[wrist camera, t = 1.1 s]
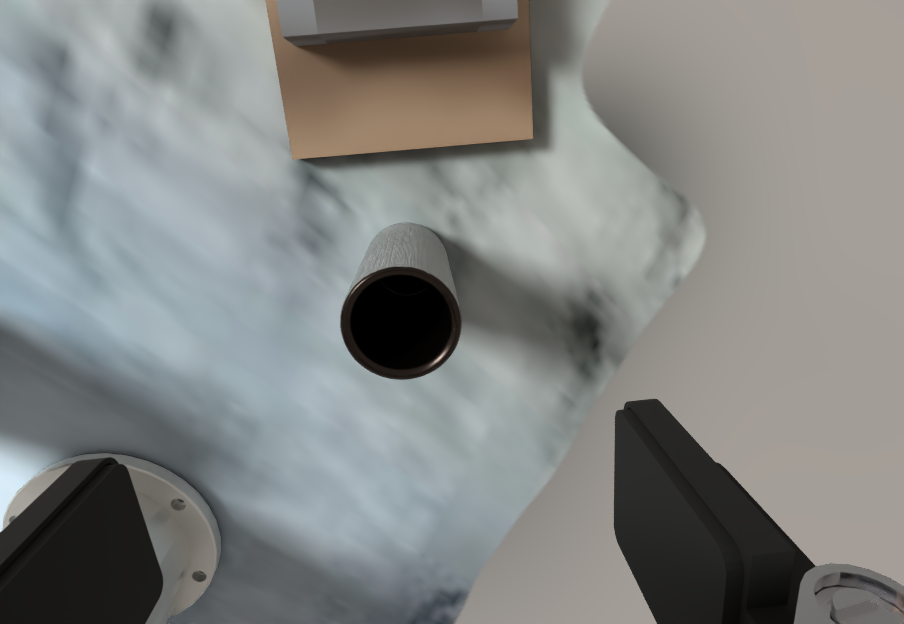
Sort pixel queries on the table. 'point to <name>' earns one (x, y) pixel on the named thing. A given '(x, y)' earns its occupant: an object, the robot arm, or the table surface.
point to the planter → (402, 305)
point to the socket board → (401, 73)
